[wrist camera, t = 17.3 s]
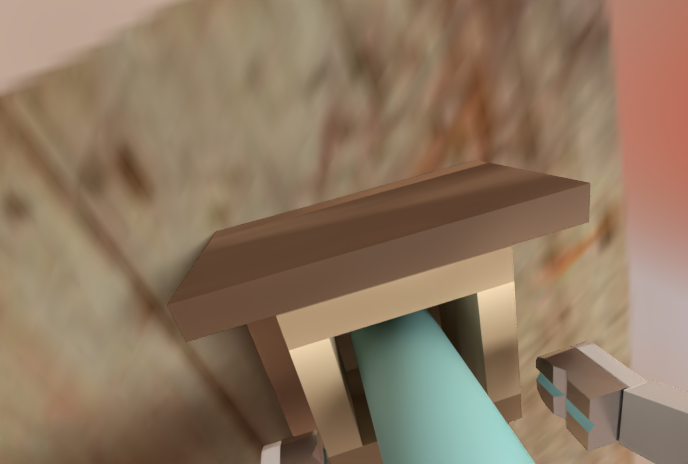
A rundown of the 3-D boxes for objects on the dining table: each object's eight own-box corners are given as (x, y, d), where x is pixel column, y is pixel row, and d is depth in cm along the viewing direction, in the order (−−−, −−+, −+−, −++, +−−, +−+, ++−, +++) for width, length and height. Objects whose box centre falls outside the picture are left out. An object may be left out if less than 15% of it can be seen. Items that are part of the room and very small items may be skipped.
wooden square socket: (455, 333, 16) (521, 417, 12) (323, 375, 16) (337, 480, 11) (437, 204, 14) (511, 245, 9) (280, 249, 13) (275, 316, 9)
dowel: (425, 333, 14) (679, 749, 5) (355, 354, 14) (478, 827, 5) (414, 270, 13) (717, 653, 4) (338, 292, 13) (452, 750, 4)
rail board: (501, 443, 21) (577, 557, 16) (326, 503, 20) (340, 647, 15) (475, 160, 15) (590, 183, 9) (216, 231, 14) (166, 304, 8)
